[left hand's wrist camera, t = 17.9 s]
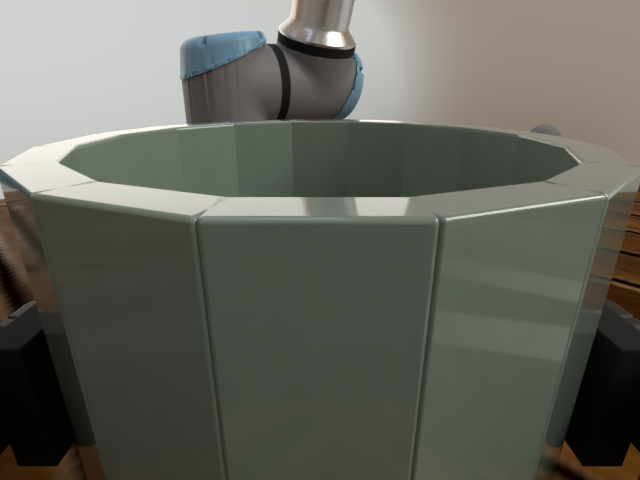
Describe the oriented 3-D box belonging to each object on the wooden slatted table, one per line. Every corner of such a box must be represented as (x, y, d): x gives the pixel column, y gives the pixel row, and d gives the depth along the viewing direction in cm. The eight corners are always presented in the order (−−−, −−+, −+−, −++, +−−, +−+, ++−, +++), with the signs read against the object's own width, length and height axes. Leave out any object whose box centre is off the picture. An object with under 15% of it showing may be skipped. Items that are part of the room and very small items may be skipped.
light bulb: (526, 182, 73) (538, 125, 70) (513, 174, 79) (523, 122, 75) (559, 182, 73) (573, 126, 70) (543, 175, 79) (555, 122, 75)
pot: (80, 514, 12) (-39, 139, 8) (320, 360, 19) (320, 114, 15) (318, 1066, 5) (310, 422, 1) (560, 515, 12) (680, 139, 8)
